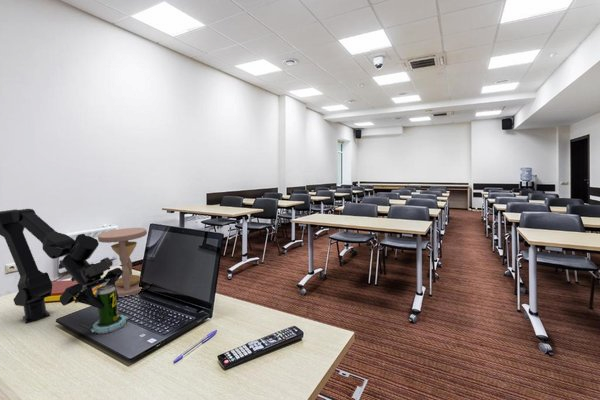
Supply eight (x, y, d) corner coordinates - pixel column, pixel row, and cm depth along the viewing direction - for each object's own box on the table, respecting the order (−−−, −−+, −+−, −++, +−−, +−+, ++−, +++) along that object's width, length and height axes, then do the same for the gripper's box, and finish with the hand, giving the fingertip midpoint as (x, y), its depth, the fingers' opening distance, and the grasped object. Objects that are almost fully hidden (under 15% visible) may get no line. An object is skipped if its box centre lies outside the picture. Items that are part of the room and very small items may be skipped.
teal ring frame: (87, 328, 96) (87, 323, 96) (122, 315, 104) (121, 311, 104) (96, 338, 91) (96, 332, 90) (132, 324, 98) (132, 318, 98)
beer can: (97, 329, 94) (93, 292, 92) (102, 320, 99) (97, 286, 97) (117, 325, 96) (113, 289, 94) (120, 317, 101) (116, 283, 99)
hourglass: (114, 284, 134) (107, 229, 131) (156, 279, 138) (150, 226, 135) (97, 301, 117) (89, 239, 114) (146, 294, 121) (139, 234, 118)
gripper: (61, 262, 87) (95, 302, 85) (116, 245, 104) (145, 277, 103) (45, 286, 90) (77, 325, 88) (101, 265, 107) (129, 297, 106)
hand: (110, 304), depth 96 cm, fingers closed on beer can, 5 cm apart
